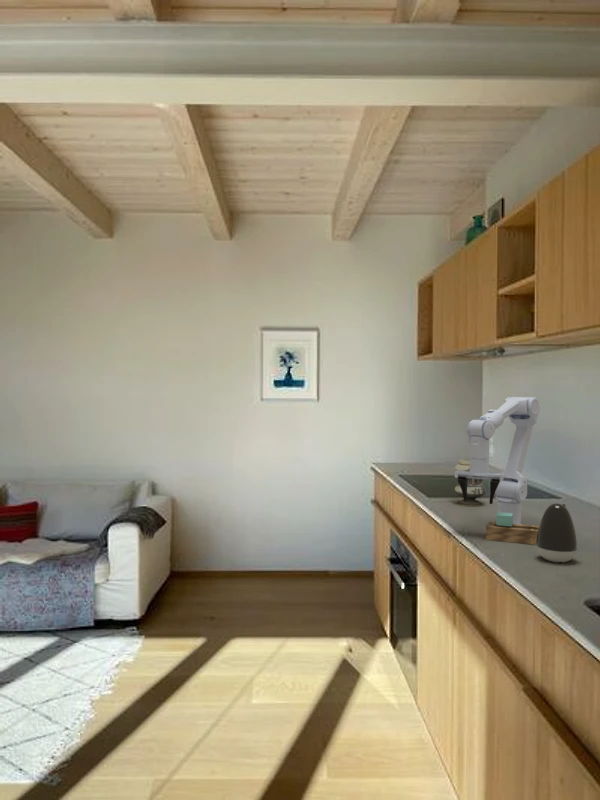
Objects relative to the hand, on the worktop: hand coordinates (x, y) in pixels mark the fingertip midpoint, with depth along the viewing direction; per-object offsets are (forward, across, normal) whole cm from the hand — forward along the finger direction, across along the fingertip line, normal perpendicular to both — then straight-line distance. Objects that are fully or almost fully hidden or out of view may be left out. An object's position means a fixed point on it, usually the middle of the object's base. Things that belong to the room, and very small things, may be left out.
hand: (478, 502), depth 192 cm
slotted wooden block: (+10, +15, 0) cm, 18 cm away
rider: (+8, +8, 0) cm, 11 cm away
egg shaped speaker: (+11, +23, -19) cm, 32 cm away
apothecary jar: (+10, -10, +55) cm, 57 cm away
